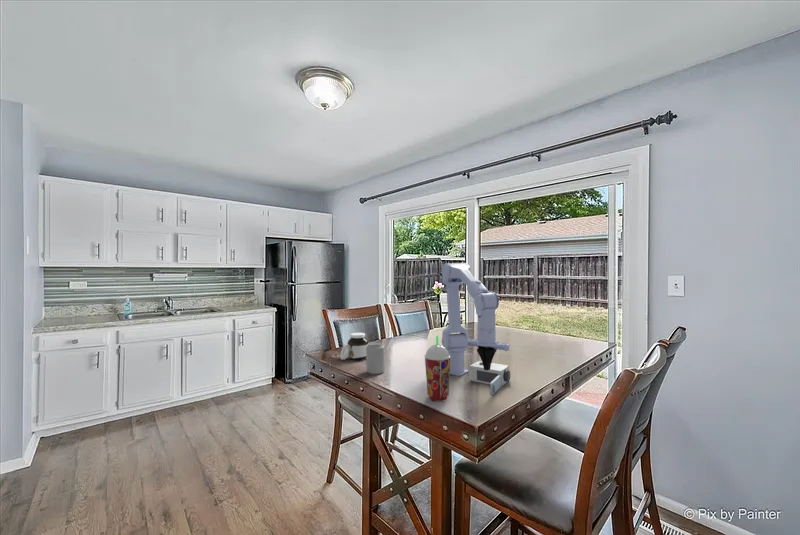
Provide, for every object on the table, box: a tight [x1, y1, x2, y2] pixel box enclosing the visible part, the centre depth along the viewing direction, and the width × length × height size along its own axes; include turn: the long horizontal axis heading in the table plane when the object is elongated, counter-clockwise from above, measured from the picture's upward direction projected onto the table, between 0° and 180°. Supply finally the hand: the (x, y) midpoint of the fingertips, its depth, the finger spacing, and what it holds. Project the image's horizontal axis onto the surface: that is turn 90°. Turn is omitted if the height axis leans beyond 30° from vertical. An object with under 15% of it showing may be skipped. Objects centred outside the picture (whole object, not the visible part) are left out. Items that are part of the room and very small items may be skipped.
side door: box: [489, 374, 503, 396], centre depth 115 cm, size 11×2×4 cm, turn 148°
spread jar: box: [340, 332, 369, 361], centre depth 160 cm, size 12×11×12 cm
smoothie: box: [424, 335, 451, 402], centre depth 110 cm, size 8×8×20 cm
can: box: [365, 341, 386, 375], centre depth 139 cm, size 8×8×12 cm
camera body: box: [469, 360, 511, 388], centre depth 127 cm, size 13×8×6 cm, turn 54°
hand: (487, 369), depth 114 cm, fingers closed
